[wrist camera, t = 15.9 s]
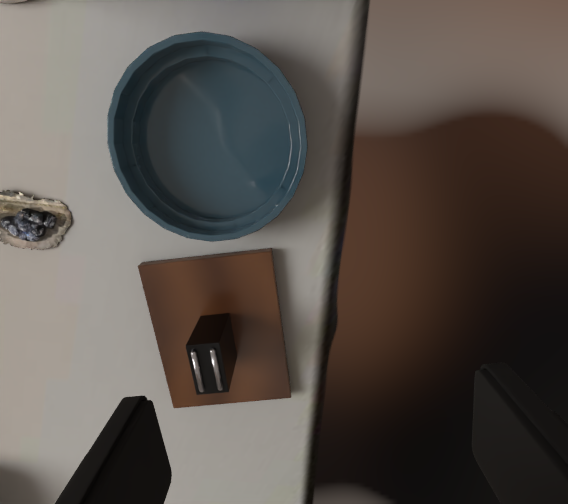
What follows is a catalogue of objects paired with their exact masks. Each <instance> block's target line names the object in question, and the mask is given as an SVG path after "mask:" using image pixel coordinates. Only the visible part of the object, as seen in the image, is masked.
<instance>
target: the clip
mask: <svg viewBox="0 0 568 504" xmlns="http://www.w3.org/2000/svg"><path fill="white" fill-rule="evenodd" d="M186 351H187V355H188V359H189V364H190V368H191V372H192V377H193V381H194V386H195V390H196V394H197V395H203V394H213V393H224V392H229V389H230V385H231V381H232V377H233V373H234V369H235V364H236V360H237V352H236V347H235V341H234V336H233V330H232V325H231V319H230V314H229V313H224V314H214V315H204V316H200V318H199V320H198V322H197V324H196V326H195V328H194V330H193V332H192V334H191V336H190V338H189V340H188V342H187V344H186Z"/></svg>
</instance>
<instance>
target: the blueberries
mask: <svg viewBox="0 0 568 504" xmlns="http://www.w3.org/2000/svg"><path fill="white" fill-rule="evenodd" d="M33 197H34V195H33V196H32V197H31V198H27V197H25V196H24V197H23V194H22V193H21V192H19V195H18V194H15V193H13V192H10V191H9V190H7V191H4V190H3V192H0V231H1V234H0V238H1V240H0V241H2V242H4V243H3V244H7V243H10V245H11V246H15V247H18V248H22V249H25V248H26V247H27V248H31V250H32V249H35V248H36V249H37V250H38V249H39V250H44V249H47V248H51V247H54V248H55V247H56V246H57V244H58V242H60V241H62V240H61V239H62V237H61V235H62V234H65V233H64V231H66V230H67V228H68V227H69V226H70V224H71V222H70V221H71V220H72V218H71V215H70V214H71V212H69V211H68V210H67V207H66V206H65V205H63V203H62V204H61V202H60V201H57V200H55V201H54V202H52V200H51V201H49V200H48V199H45V198H43V199H41V200H39V201H36V200H35V201H34V200H33ZM32 242H33V243H32Z"/></svg>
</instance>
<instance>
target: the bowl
mask: <svg viewBox="0 0 568 504" xmlns="http://www.w3.org/2000/svg"><path fill="white" fill-rule="evenodd" d="M107 139H108V148H109V152H110V156H111V160H112V164H113V168H114V170H115V173H116V175H117V177H118V179H119V180H120V182H121V184H122V186H123V188H124V190H125V192H126V194H127V195H128V196H129V197H130V199H131V200H132V201H133V202H134V203H135V204H136V205H137V207H138V208H139V209H140V210H141V211H142V212H143V213H144V214H145V215H146V216H147V217H149V218H150V219H152V220H153V221H154V222H156V223H157V224H159V225H160V226H161V227H163V228H164V229H166V230H169V231H171V232H174V233H176V234H179V235H181V236H184V237H186V238H190V239H197V240H204V241H222V240H231V239H237V238H240V237H242V236H245V235H247V234H250V233H252V232H255V231H258V230H259V229H261V228H262V227H263V226H265V225H266V224H267V223H269V222H270V221H271V220H273V219H274V218H276V217H277V216H278V215H279V214H280V212H281V211H282V210H283V209H284V207H285V206H286V205H287V204H288V202H289V201H290V200H291V199H292V197H293V196H294V193H295V191H296V189H297V186H298V184H299V182H300V180H301V177H302V175H303V172H304V166H305V160H306V153H307V135H306V125H305V118H304V115H303V112H302V109H301V107H300V104H299V101H298V98H297V95H296V93H295V91H294V89H293V88H292V86H291V85H290V83H289V82H288V81H287V79H286V78H285V76H284V75H283V73H282V72H281V70H280V69H279V68H278V67H277V66H276V65H275V64H274V63H273V62H272V61H270V60H269V59H268V58H267V57H266V56H265V55H264V54H262V53H261V52H260V51H259V50H258V49H256V48H255V47H252V46H250V45H248V44H246V43H244V42H242V41H240V40H238V39H236V38H233V37H231V36H228V35H221V34H215V33H208V32H194V33H187V34H180V35H174V36H171V37H169V38H167V39H165V40H163V41H161V42H159V43H157V44H155V45H153V46H151V47H149V48H147V49H146V50H145V51H144V52H143V53H142V54H141V55H140V56H139V57H138V58H137V59H135V60H134V61H133V62H132V63H131V64H130V65H129V66H128V67H127V69H126V71H125V73H124V74H123V76H122V78H121V79H120V81H119V83H118V84H117V86H116V88H115V90H114V93H113V97H112V101H111V104H110V108H109V112H108V117H107Z"/></svg>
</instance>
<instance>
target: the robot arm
mask: <svg viewBox="0 0 568 504" xmlns="http://www.w3.org/2000/svg"><path fill="white" fill-rule="evenodd" d="M24 1H27V0H0V2H1V3H17V2H24ZM472 449H473V453H474V456H475V459H476V461H477V463H478V464H479V466H480V468H481V470H482V471H483V473H484V475H485V477H486V478H487V480H488V482H489V484H490V485H491V487H492V489H493V491H494V492H495V494H496V496H497V498H498V499H499V501H500V503H501V504H568V424H567V423H566V422H565V421H564V420H563V419H562V418H561V417H560V416H559V415H557V414H556V413H555V412H553V411H551V410H550V409H549V408H548V407H547V406H546V405H545V404H544V403H543V402H542V401H541V400H540V399H539V397H538V396H537V395H536V394H535V393H534V392H533V391H532V390H531V389H530V388H529V387H528V386H527V385H526V384H525V383H524V382H523V381H522V380H521V378H520V377H518V375H517V374H516V373H515V372H514V371H513V370H512V369H511V368H510V367H509V366H508V365H507V364H506V363H494V364H484V365H482V366H481V369H480V370H477V371H476V372H475V385H474V409H473V434H472ZM171 476H172V474H171V467H170V464H169V460H168V456H167V453H166V449H165V445H164V442H163V438H162V434H161V431H160V427H159V423H158V420H157V416H156V412H155V409H154V405H153V402H152V401H151V400H147V398H146V397H145V396H134V397H125V398H123V399H122V400H121V402H120V403H119V405H118V407H117V408H116V410H115V411H114V413H113V414H112V416H111V418H110V419H109V421H108V422H107V424H106V425H105V427H104V429H103V430H102V432H101V433H100V435H99V436H98V438H97V440H96V441H95V443H94V444H93V446H92V447H91V449H90V450H89V452H88V453H87V455H86V456H85V457H84V459H83V460H82V462H81V464H80V465H79V467H78V468H77V470H76V471H75V473H74V474H73V476H72V478H71V479H70V481H69V482H68V484H67V485H66V487H65V489H64V490H63V492H62V493H61V495H60V496H59V498H58V499H57V501H56V503H55V504H164V501H165V498H166V495H167V492H168V490H169V487H170V483H171Z"/></svg>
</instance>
